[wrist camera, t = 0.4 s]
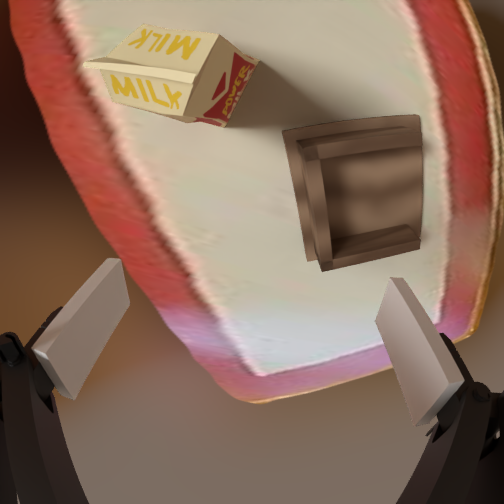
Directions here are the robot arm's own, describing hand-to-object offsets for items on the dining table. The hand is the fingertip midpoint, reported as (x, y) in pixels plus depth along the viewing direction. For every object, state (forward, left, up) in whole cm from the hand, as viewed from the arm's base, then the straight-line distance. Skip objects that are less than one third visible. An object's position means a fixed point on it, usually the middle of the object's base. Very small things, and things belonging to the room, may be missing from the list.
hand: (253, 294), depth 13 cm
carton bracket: (-8, +12, -23) cm, 27 cm away
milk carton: (-4, -11, -23) cm, 26 cm away
